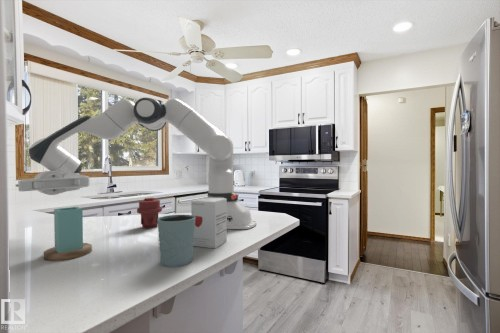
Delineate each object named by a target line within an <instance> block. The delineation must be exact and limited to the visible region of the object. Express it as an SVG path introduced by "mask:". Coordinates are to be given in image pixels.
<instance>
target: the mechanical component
mask: <svg viewBox="0 0 500 333" xmlns="http://www.w3.org/2000/svg"><path fill="white" fill-rule="evenodd" d="M162 211H163V207H162V206H161V200H160V199H156V198H155V197H145V198H144V199H143V200H142V199H141V200H139V201H138V208H137V209H136V212H137V214H140V225H141V226H142V227H141V228H142V229H143V230H144V229H149V228H151V229H152V228H153V227H155V228H158V222H157V219H158V218H159V213H161V212H162Z"/></svg>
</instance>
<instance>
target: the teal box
mask: <svg viewBox="0 0 500 333" xmlns="http://www.w3.org/2000/svg"><path fill="white" fill-rule="evenodd" d="M53 212H54V213H53V221H54V222H53V223H54V247H55V250H56V251H57V252H58V253H64V252H69V251H74V250H79V249H83V243H84V237H83V236H84V232H83V230H84V228H83V226H84V225H83V222H84V221H83V216H84V215H83V208H82V207H79V206H71V207H62V208H61V207H60V208H54V209H53Z"/></svg>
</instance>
